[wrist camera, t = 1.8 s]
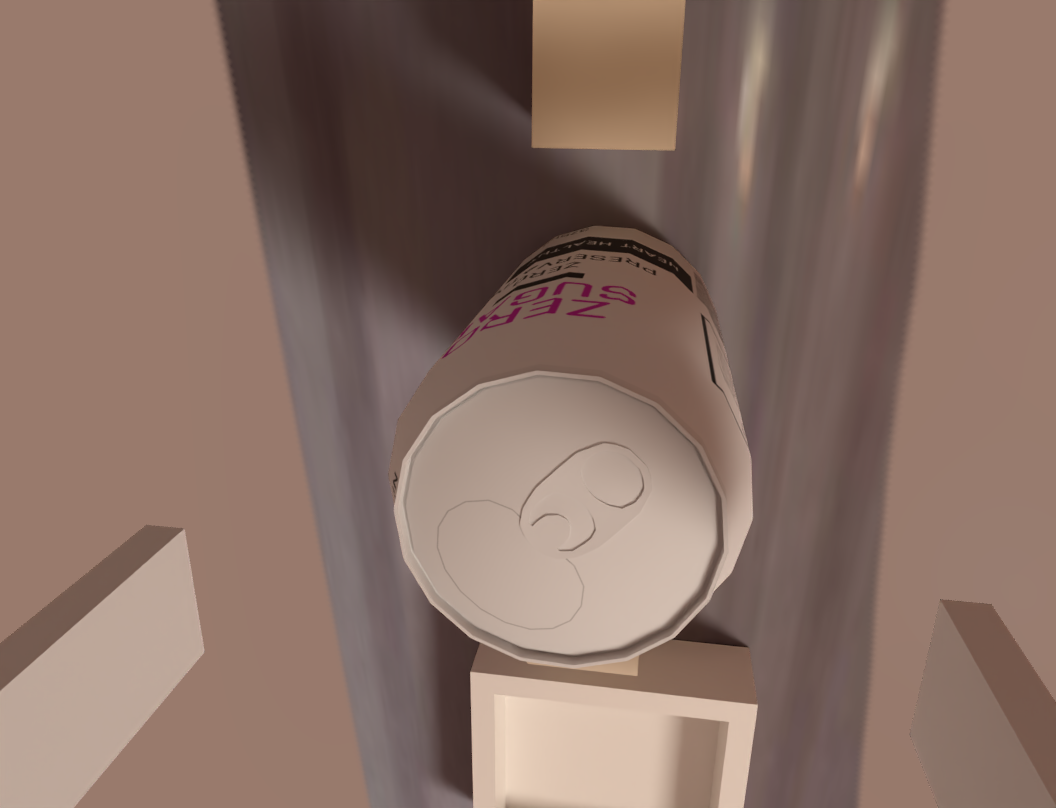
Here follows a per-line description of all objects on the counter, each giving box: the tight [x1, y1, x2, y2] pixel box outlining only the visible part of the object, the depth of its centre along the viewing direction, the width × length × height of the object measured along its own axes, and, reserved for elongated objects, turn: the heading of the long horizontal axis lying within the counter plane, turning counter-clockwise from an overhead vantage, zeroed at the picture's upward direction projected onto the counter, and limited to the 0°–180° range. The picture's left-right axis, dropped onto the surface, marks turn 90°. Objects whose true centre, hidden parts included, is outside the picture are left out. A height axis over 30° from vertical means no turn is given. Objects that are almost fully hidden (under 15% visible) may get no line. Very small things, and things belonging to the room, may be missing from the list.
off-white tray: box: [470, 639, 758, 808], centre depth 36 cm, size 12×12×4 cm
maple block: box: [532, 0, 685, 150], centre depth 24 cm, size 4×4×6 cm
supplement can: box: [388, 226, 753, 669], centre depth 23 cm, size 8×8×15 cm
